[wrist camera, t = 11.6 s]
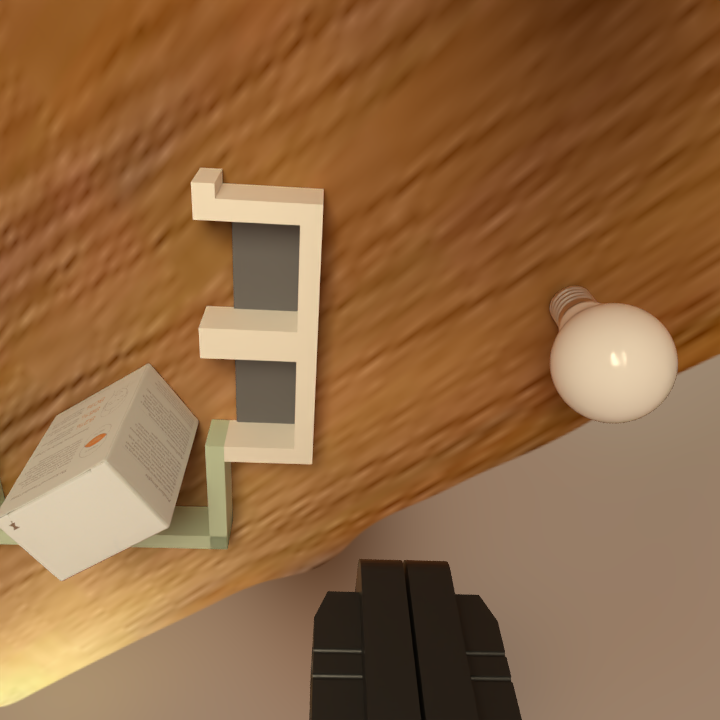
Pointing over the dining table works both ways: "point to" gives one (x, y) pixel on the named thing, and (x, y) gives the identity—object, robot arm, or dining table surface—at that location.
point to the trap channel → (255, 344)
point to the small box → (102, 475)
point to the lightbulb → (609, 357)
